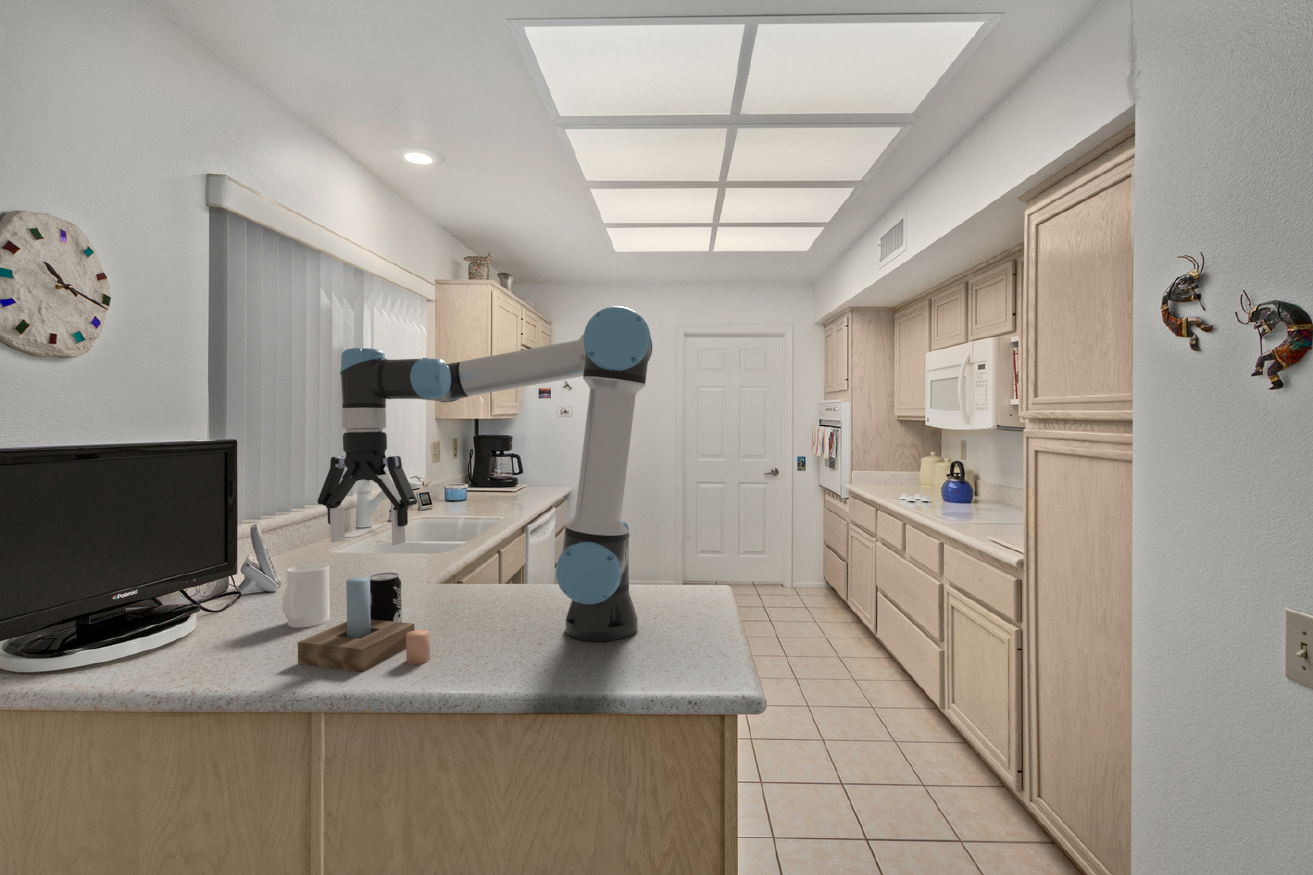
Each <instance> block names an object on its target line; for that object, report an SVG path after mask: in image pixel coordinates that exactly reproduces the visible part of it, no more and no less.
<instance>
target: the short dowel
mask: <svg viewBox="0 0 1313 875" xmlns="http://www.w3.org/2000/svg"><path fill="white" fill-rule="evenodd" d="M430 633H431V632H430V631H429V630H428V629H416V630H415V629H414V631H411V632H408V633H407V634H406V649H405V650H406V655H405V656H406V657H405V658H406V664H408V665H415V666H416V665H421V664H425V663H427V662H429V661H430V659H431V653H430V652H431V651H430V650H431V649H430V647H431V642H430V641H431V639H430V637H431V636H430Z"/></svg>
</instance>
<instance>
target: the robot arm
mask: <svg viewBox="0 0 1313 875" xmlns="http://www.w3.org/2000/svg"><path fill="white" fill-rule="evenodd" d="M652 354H653V341H652V337H651V331H650V328H649V326H648V324H647V321H646V320H645V319H644V318H643V316H641V315H640V314H639V313H637V311H635V310H633V309H630V308H628V307H624V306H619V305H614V306H608V307H605V308H602V309H601V310H599V311H597V312H596V313H594V315H592V316H591V318H590V319H589V320H588V322H587V323H586V326H585V328H584V332H583V333H582V335H581V336H580V337H579V339H575V340H570V341H566V342H565V341H564V342H559V343H553V344H549V345H548V344H547V345H543V346H537V347H531V348H527V349H520V350H516V351H510V352H506V353H505V352H504V353H500V354H495V355H489V356H483V357H478V358H473V359H466V360H461V361H458V362H452V363H451V362H450V363H446V361H445V360H444V359H440V358H428V357H422V358H405V359H404V358H403V359H402V358H401V359H388V358H387V359H386V358H385V352H384V351H383V350H381V349H378V348H371V347H370V348H368V347H367V348H365V347H364V348H363V347H354V348H353V347H352V348H347V349H345V350H343V351H342V353H341V361H340V371H339V375H340V378H341V380H340V383H341V397H342V398H341V402H342V406H341V407H342V408H341V415H342V416H341V418H342V420H341V421H342V422H341V423H342V424H341V425H342V427H341V428H342V429H343V430H345V432H344V433H343V434H342V450H343V451H344V452H345V456H344V455H343V456H339V455H338V456H332V457H331V458H330V463H329V464H330V465H329V469H328V473H327V475H326V478H325V481H324V483H323V484H322V488H321V489H320V493H319V496H318V499H317V504H318V505H319V506H321V505H323V506H324V507H325V508H327V509H326V510H327V523H328V525H330V543H332V544H334V543H339V542H343V541H345V540H346V537H345V534H346V533H345V532H346V531H345V508H344V506H343V504H342V502H343V501H344V500H345V498H346V497H347V495H348V494H349V492H350V491H351V490H352V488H353V487H354V485H355V484H356V483H357V482H358V481H372V482H373V483H376V484H377V486H378V487H379V488H380V489H381V491H382V492H383V494H384V495H385V496H386V497H387V498H388V500H389V501H390V502H391V504H392V505H393V509H391V514H390V515H391V546H398V545H400V544H405V543H406V529H405V528H406V526H408V523H409V521H408V520H409V518H408V517H409V516H408V514H409V513H408V511H409V510H408V509H409V508H410V507H412V506H414V505H417V503H418V499H417V497H416V495H415V492H414V491H413V489H412V486H411V484H410V481H409V480H408V478H407V475H406V473H405V471H404V468H403V464H402V457H401V456H400V455H393V456H387V457H386V451H387V449H388V439H387V437H388V434H387V433H386V432H385V431H384V430H385V429H386V428H387V412H386V410H387V403H386V402H387V400H424V401H435V402H440V403H452V402H457V401H458V400H461V399H465V398H469V397H474V396H479V395H480V396H481V395H485V394H491V393H495V392H496V393H497V392H502V391H507V390H513V389H519V388H523V387H529V386H537V385H540V384H542V385H543V384H546V383H552V382H558V381H564V380H569V379H575V378H580V377H581V378H582V380H584V382H585V383H586V385H588V388H589V395H588V402H587V404H588V405H587V412H586V420H585V427H584V428H585V429H584V436H583V445H582V446H583V447H582V452H581V461H580V469H579V470H580V471H579V480H578V486H577V493H576V494H577V495H576V496H577V497H576V503H575V504H576V505H575V512H574V515H573V517H572V518H571V519H569V520H568V521H567V522H566V523H565V528H564V535H563V544H562V552H561V553H560V555H559V557H558V560H557V562H556V565H555V566H556V567H555V568H556V570H555V578H556V581H557V584H558V586H559V588H560V590H561V591H562V592H563V594H564V595H565V596H566V597H568V598H569V599H570V600H571V602H570V605H569V607H568V611H567V614H566V618H565V633H566V634H567V635H568V636H569V637H572V638H574V639H576V640H581V641H586V642H587V641H588V642H609V641H617V640H621V639H625V638H627V637H630V636H633V635H634V634H635V633H636V632H637V631H638V628H639V627H638V620H639V619H638V615H637V612H636V609H635V606H634V603H633V599H632V597H631V594H630V560H629V559H630V554H629V553H630V544H629V542H630V540H629V538H630V536H631V535H630V531H629V525H628V523H627V522H626V521H624V520H622V512H623V505H624V504H623V502H624V495H625V487H626V480H627V479H626V477H627V471H628V461H629V454H630V444H631V437H632V436H631V435H632V431H633V429H632V428H633V423H634V422H633V420H634V412H635V404H636V396H637V394H638V393H639V392H640V391H641V390H642V389H644V388H645V387H646V381H647V380H646V379H647V372H648V365H649V361H650V359H651V357H652ZM345 467H346V468H347V469H346V470H345ZM385 468H387V469H385ZM387 470H388V471H387Z"/></svg>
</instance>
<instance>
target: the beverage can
mask: <svg viewBox="0 0 1313 875" xmlns="http://www.w3.org/2000/svg"><path fill="white" fill-rule="evenodd" d="M399 575H400V574H399V573H397V572H381V573H380V572H379V573H375V574H372V575H369V577H368V578H370V619H371V620H381V621H392V622H403V620H402V619H403V618H402V581H401V579H400V578H399Z"/></svg>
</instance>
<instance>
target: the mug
mask: <svg viewBox="0 0 1313 875" xmlns="http://www.w3.org/2000/svg"><path fill="white" fill-rule="evenodd" d="M281 602H282V603H281V604H282V605H281V606H282V612H283V614H284V615H285V617H286V618H287V625H288V627H289V628H294V629H295V628H296V629H303V628H304V629H305V628H310V627H316V626H321V625H323V624H325V623H327V622H328V621H329V620H330V613H331V610H330V606H331V605H330V566H329V564H326V563H308V564H300V565H295V566H292V567H289V568H287V570H286V589H285V591H284V593H283V597H282V601H281Z"/></svg>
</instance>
